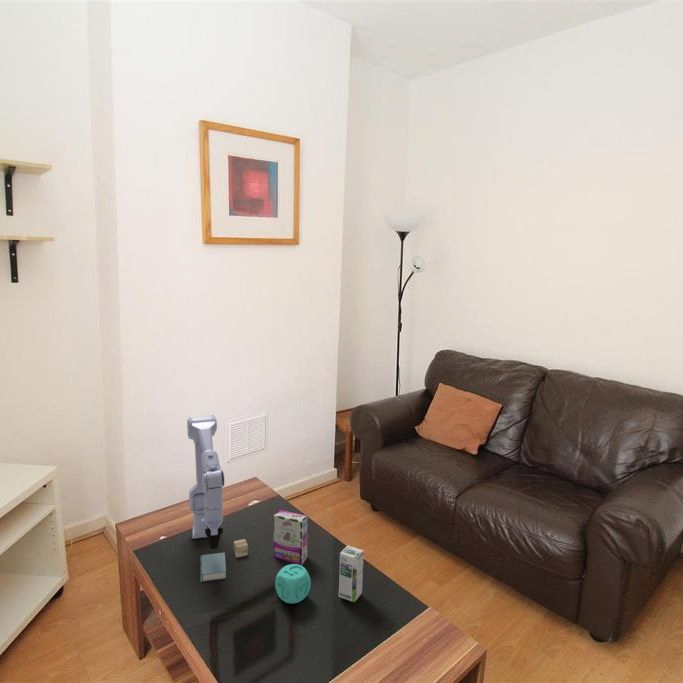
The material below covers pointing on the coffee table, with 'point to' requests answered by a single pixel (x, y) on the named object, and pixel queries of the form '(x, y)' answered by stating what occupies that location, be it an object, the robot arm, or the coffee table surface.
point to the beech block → (240, 548)
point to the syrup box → (351, 573)
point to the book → (213, 567)
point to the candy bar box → (290, 536)
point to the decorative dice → (292, 583)
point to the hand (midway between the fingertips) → (213, 544)
